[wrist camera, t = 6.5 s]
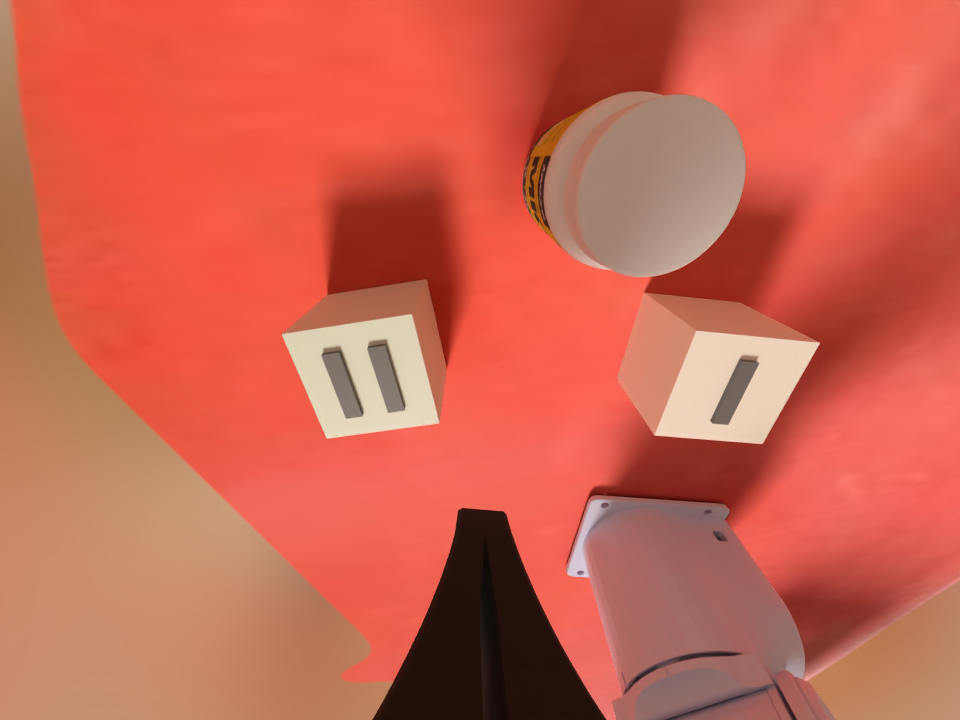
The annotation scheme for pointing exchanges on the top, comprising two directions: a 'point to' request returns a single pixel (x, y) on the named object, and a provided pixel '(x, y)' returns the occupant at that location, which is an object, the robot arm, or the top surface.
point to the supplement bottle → (637, 181)
